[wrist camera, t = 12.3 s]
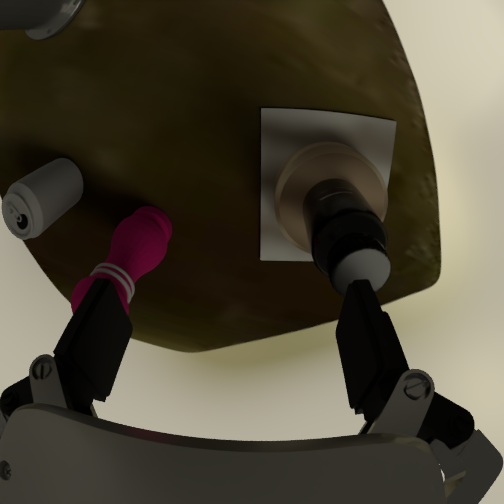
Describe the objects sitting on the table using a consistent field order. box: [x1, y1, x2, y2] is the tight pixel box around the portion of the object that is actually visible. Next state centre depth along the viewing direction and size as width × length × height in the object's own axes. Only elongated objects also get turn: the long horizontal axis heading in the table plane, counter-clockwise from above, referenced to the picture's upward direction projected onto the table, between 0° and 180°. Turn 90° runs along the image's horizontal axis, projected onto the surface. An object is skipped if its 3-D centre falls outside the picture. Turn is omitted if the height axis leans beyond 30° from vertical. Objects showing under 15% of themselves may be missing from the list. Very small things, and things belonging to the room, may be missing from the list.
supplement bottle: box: [302, 178, 391, 297], centre depth 24 cm, size 7×7×12 cm
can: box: [2, 158, 83, 240], centre depth 28 cm, size 8×8×12 cm
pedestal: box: [260, 108, 396, 261], centre depth 31 cm, size 20×16×5 cm
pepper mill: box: [71, 206, 172, 315], centre depth 28 cm, size 7×7×20 cm
